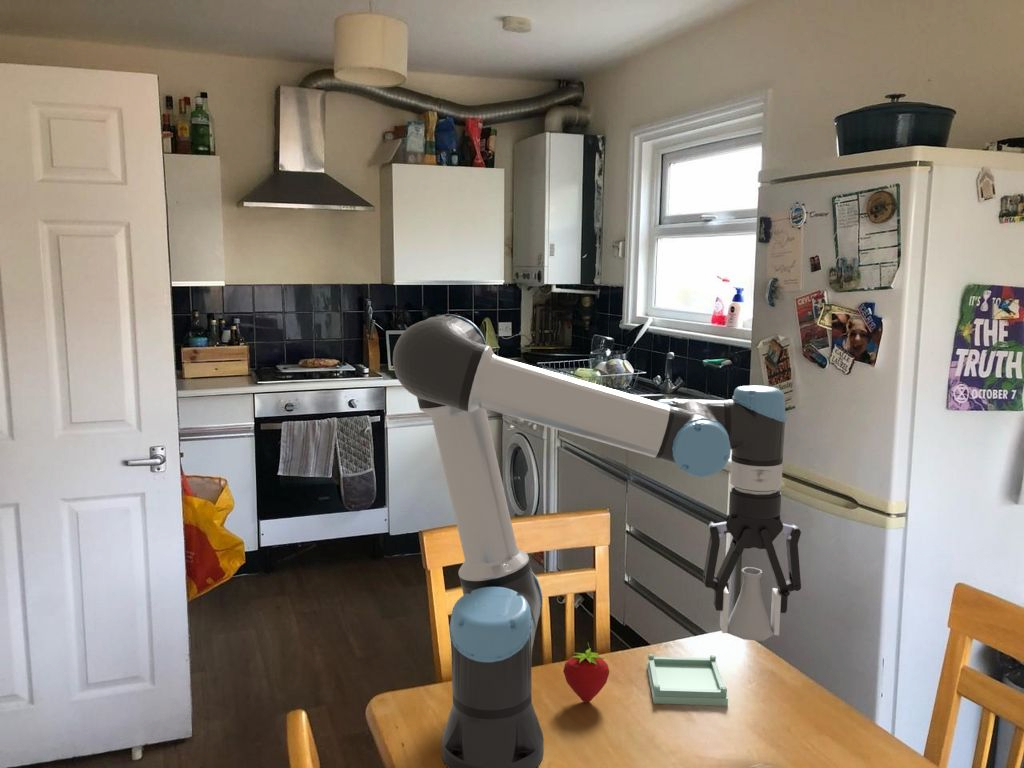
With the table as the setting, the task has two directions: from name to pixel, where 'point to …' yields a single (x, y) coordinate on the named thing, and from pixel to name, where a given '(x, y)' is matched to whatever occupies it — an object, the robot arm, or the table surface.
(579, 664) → the strawberry
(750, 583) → the flask
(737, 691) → the table surface
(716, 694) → the base board
